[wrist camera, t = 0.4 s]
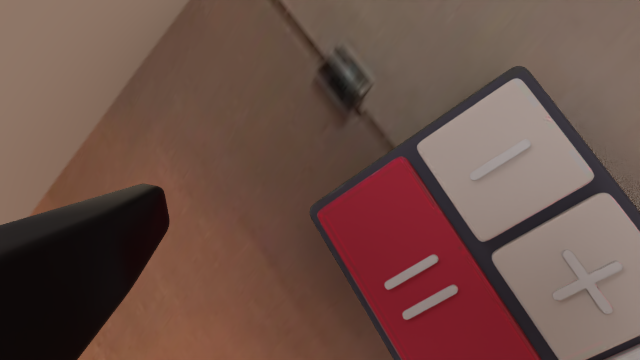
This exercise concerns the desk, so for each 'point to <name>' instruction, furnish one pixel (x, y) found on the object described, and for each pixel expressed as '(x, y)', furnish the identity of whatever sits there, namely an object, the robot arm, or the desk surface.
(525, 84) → the calculator
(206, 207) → the desk surface
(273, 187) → the desk surface
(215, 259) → the desk surface
